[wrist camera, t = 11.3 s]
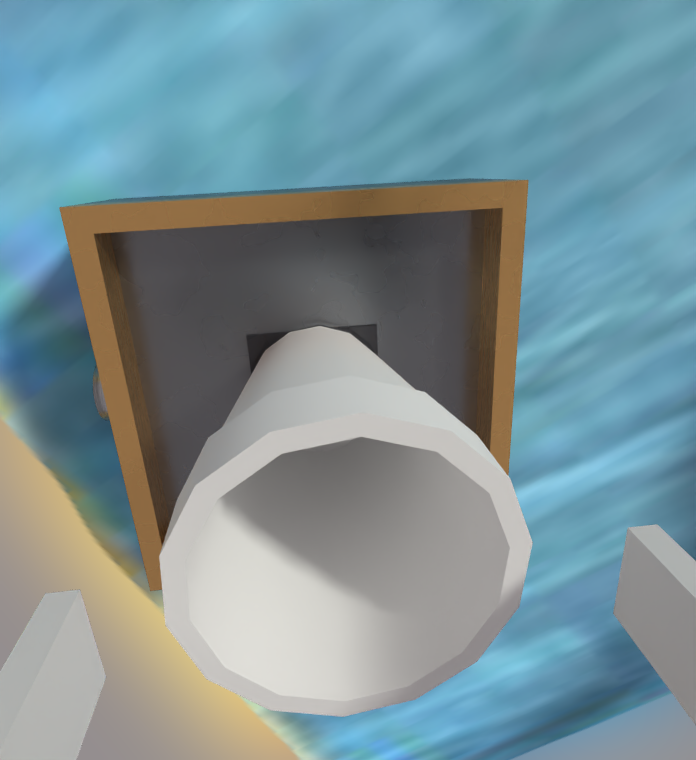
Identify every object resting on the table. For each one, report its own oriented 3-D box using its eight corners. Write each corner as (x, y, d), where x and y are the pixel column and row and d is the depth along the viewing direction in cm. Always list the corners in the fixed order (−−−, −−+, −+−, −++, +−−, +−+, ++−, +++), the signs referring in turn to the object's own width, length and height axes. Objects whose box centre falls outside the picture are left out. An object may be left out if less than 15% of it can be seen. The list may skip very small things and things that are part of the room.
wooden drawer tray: (470, 178, 28) (528, 179, 21) (461, 476, 34) (503, 547, 28) (79, 200, 26) (13, 210, 20) (149, 511, 33) (116, 595, 26)
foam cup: (298, 507, 28) (312, 762, 16) (174, 376, 24) (72, 573, 12) (449, 402, 27) (589, 591, 15) (341, 250, 23) (407, 333, 11)
